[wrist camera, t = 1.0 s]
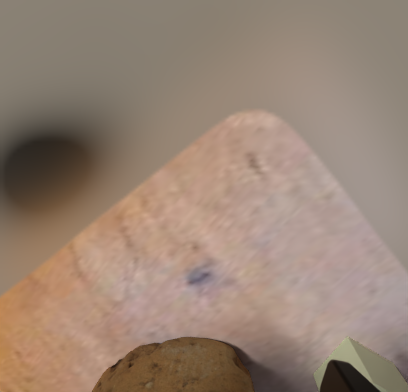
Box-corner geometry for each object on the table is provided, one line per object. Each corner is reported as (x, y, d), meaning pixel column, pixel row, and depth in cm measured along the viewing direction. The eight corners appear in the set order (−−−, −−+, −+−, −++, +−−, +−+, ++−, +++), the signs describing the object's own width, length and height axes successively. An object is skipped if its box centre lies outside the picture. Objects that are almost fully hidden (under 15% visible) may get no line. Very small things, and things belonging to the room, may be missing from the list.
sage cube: (392, 362, 22) (428, 414, 18) (357, 398, 23) (384, 456, 19) (346, 335, 21) (373, 382, 18) (312, 373, 22) (331, 426, 19)
